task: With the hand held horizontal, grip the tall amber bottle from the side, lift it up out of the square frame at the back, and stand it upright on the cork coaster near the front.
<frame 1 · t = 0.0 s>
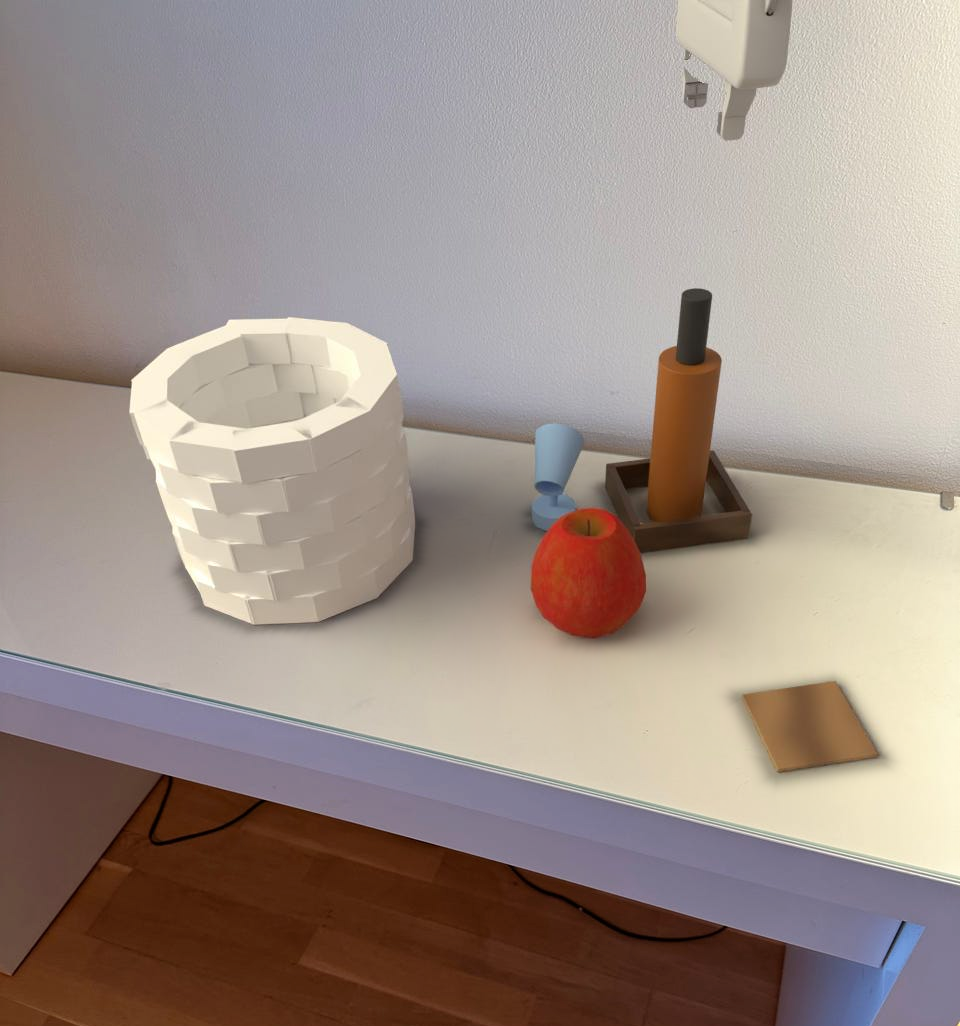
hand: (710, 121, 81), 34 cm above the table, tool pointing down, fingers open, 8 cm apart
bottle: (684, 412, 90), in the square frame
spotlight: (554, 517, 99), on the table
apple: (587, 612, 88), on the table
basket: (302, 544, 98), on the table
coaster: (807, 726, 77), on the table
square frame: (673, 512, 98), on the table
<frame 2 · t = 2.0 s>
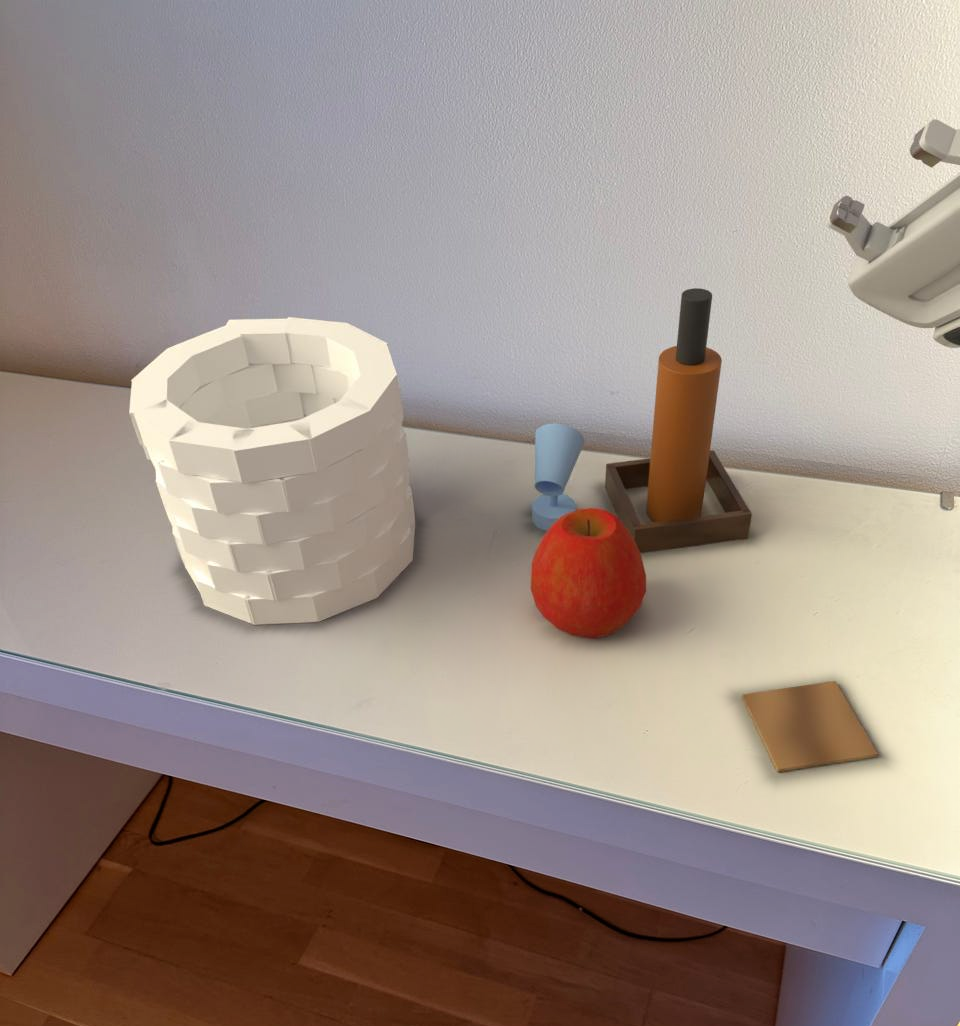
hand: (873, 175, 63), 37 cm above the table, tool pointing upward, fingers open, 8 cm apart
nothing on the table moved.
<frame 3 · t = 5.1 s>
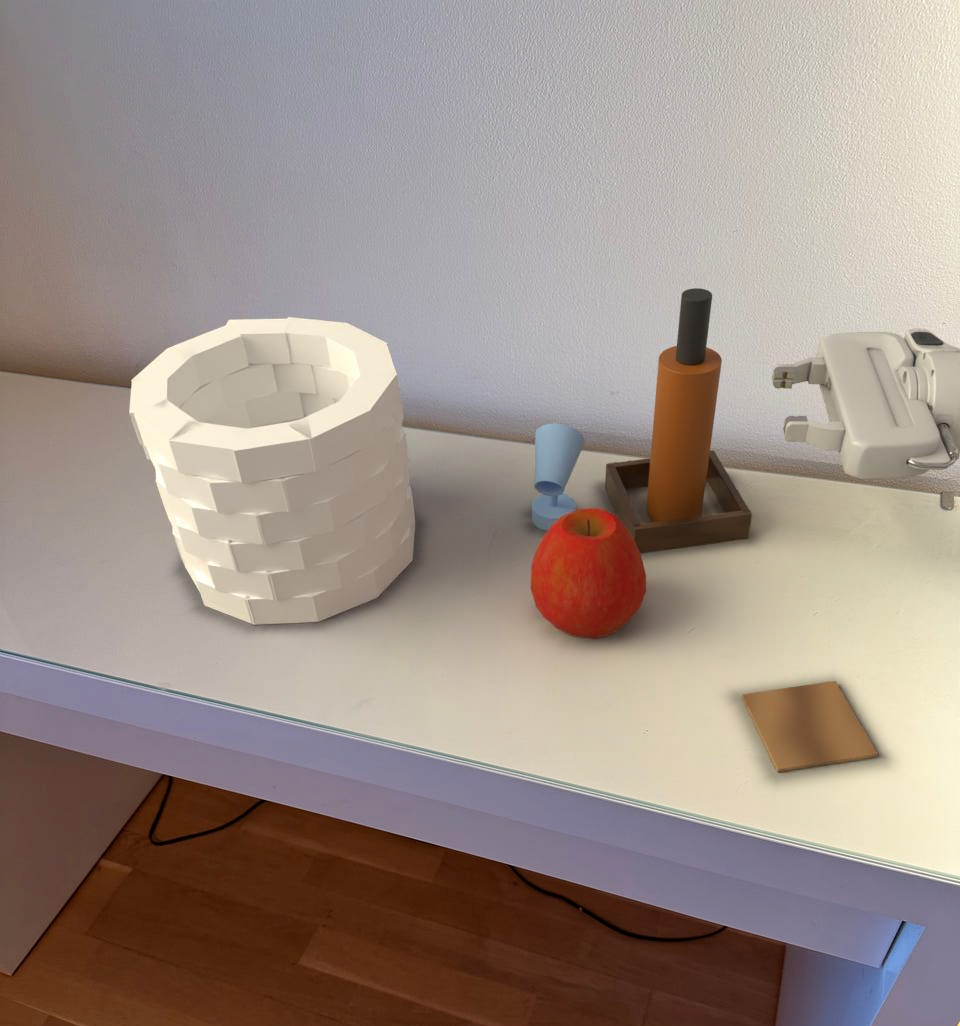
hand: (778, 401, 88), 13 cm above the table, tool horizontal, fingers open, 8 cm apart
nothing on the table moved.
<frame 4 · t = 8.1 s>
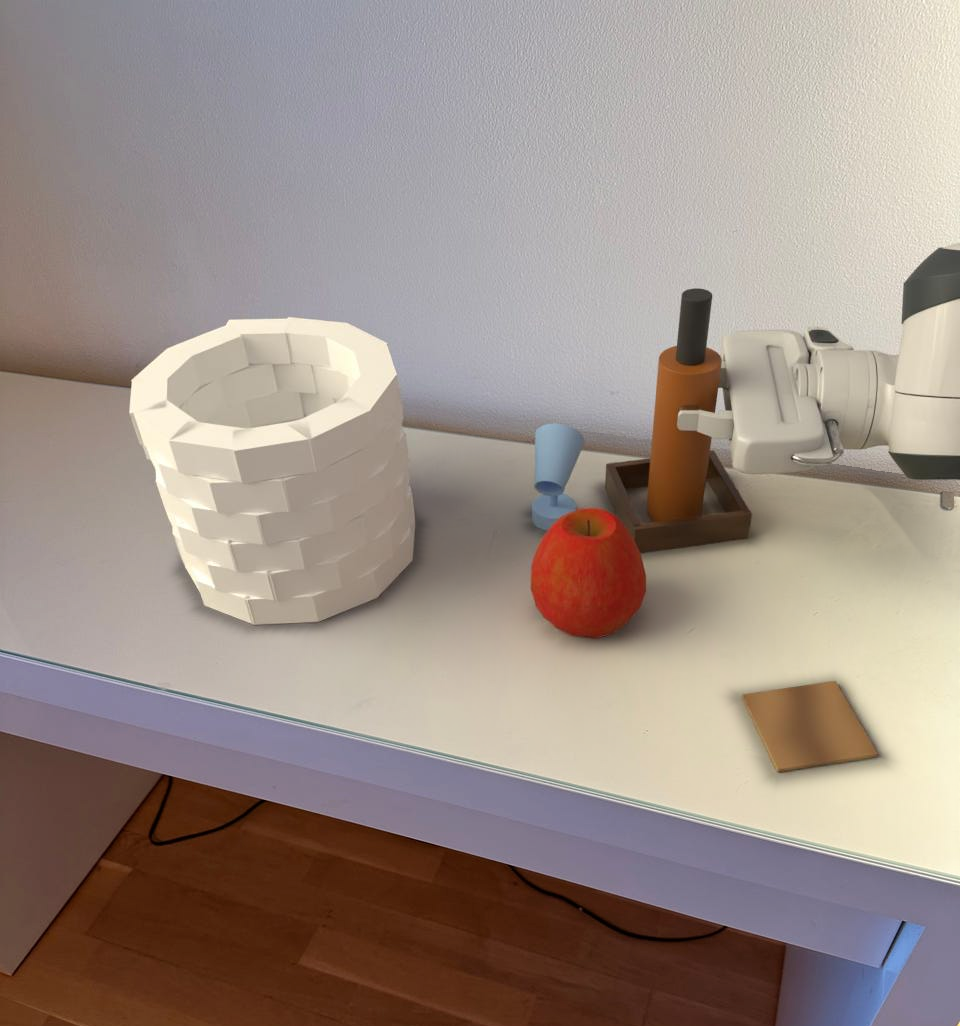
hand: (676, 397, 89), 13 cm above the table, tool horizontal, fingers closed on bottle, 5 cm apart
bottle: (684, 412, 90), in the square frame, touching gripper
everything else where it was.
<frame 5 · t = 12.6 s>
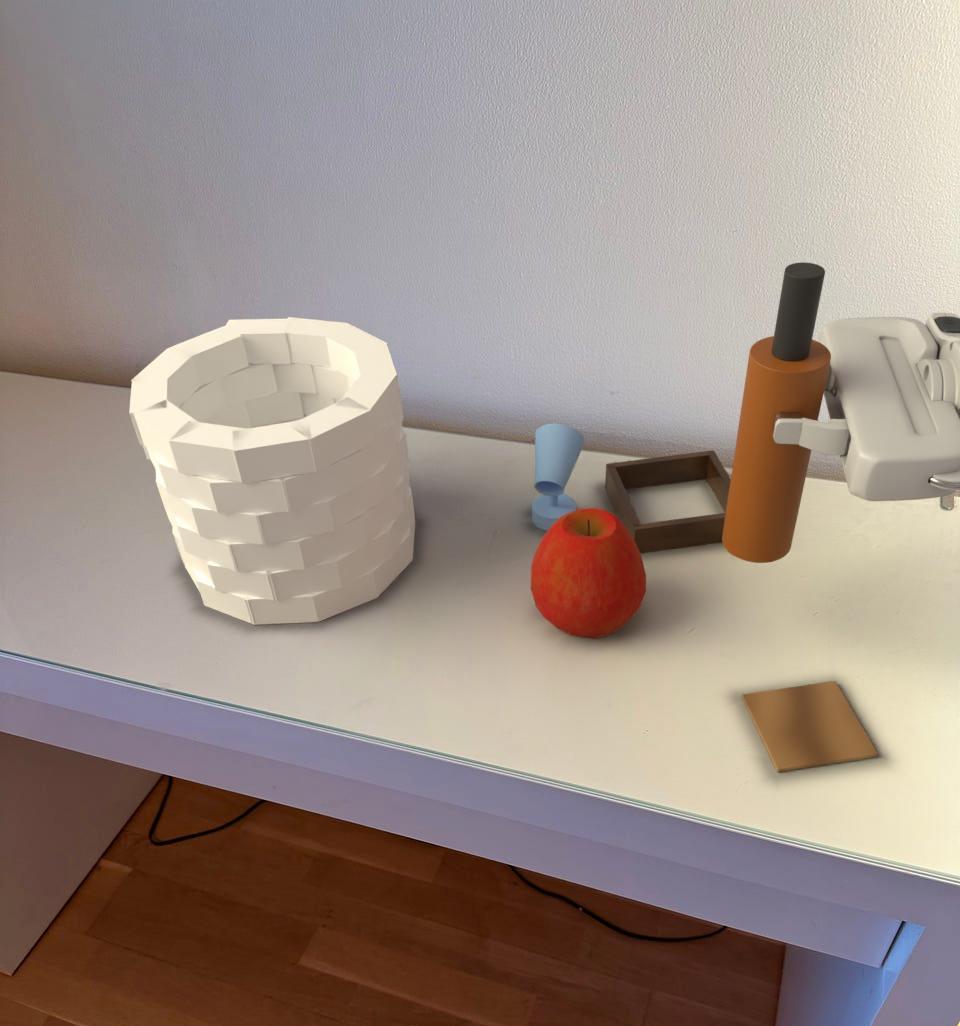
hand: (769, 402, 71), 22 cm above the table, tool horizontal, fingers closed on bottle, 5 cm apart
bottle: (778, 420, 72), point 20 cm above the table, touching gripper
everything else where it was.
when the fingers open (13 cm above the table, at t = 17.1 s): bottle stays where it is, resting on coaster.
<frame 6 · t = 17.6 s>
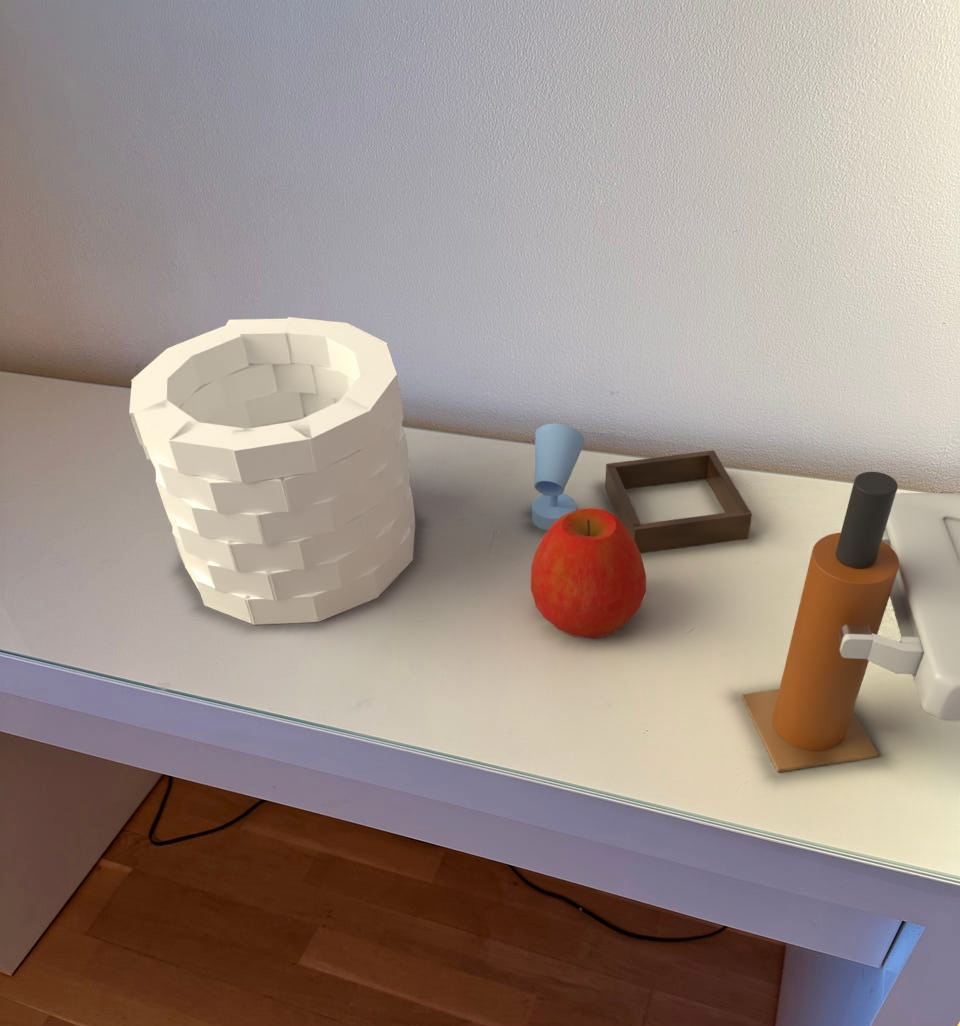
hand: (830, 594, 67), 14 cm above the table, tool horizontal, fingers open, 8 cm apart
bottle: (838, 617, 69), on the coaster
everything else where it was.
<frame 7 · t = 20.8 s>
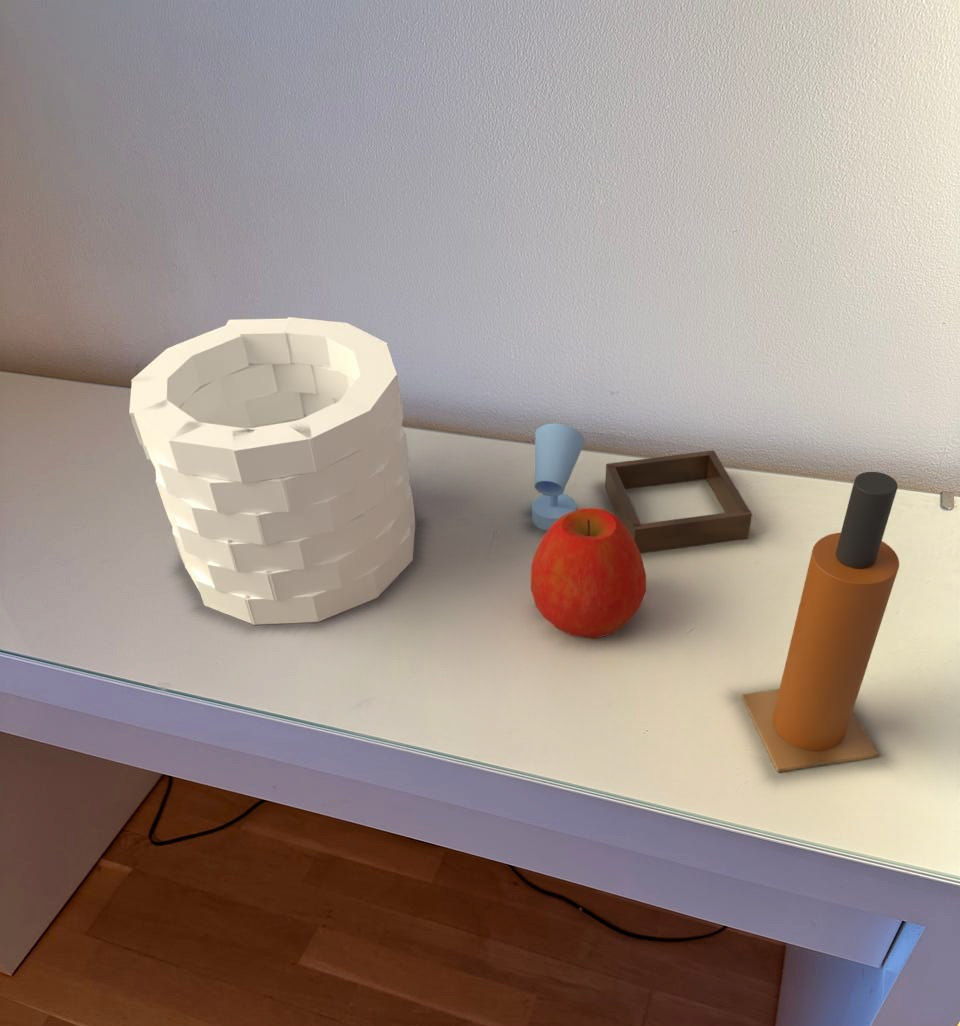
nothing on the table moved.
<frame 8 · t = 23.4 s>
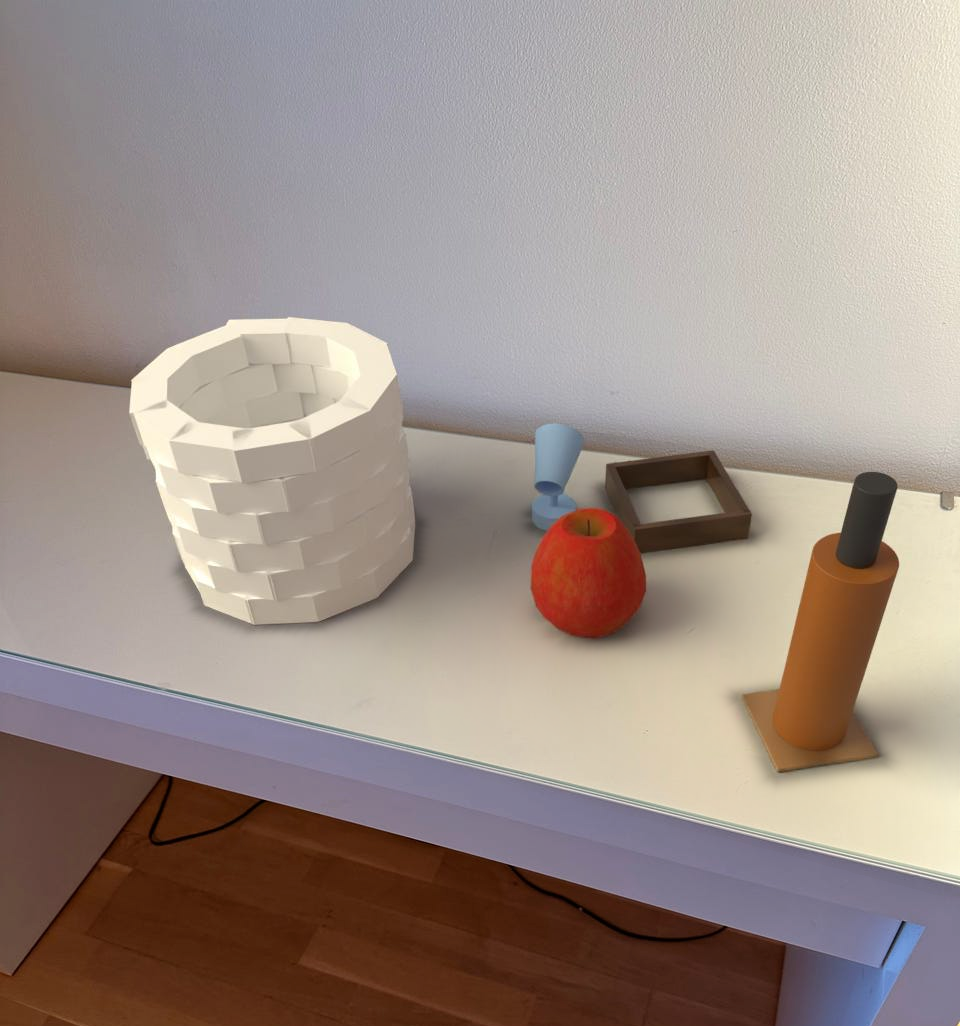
nothing on the table moved.
at the end: bottle inside the target area on the coaster (0.1 cm from its centre), point 11.9 cm above the coaster's base; bottle tilted 0°; bottle touching coaster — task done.
